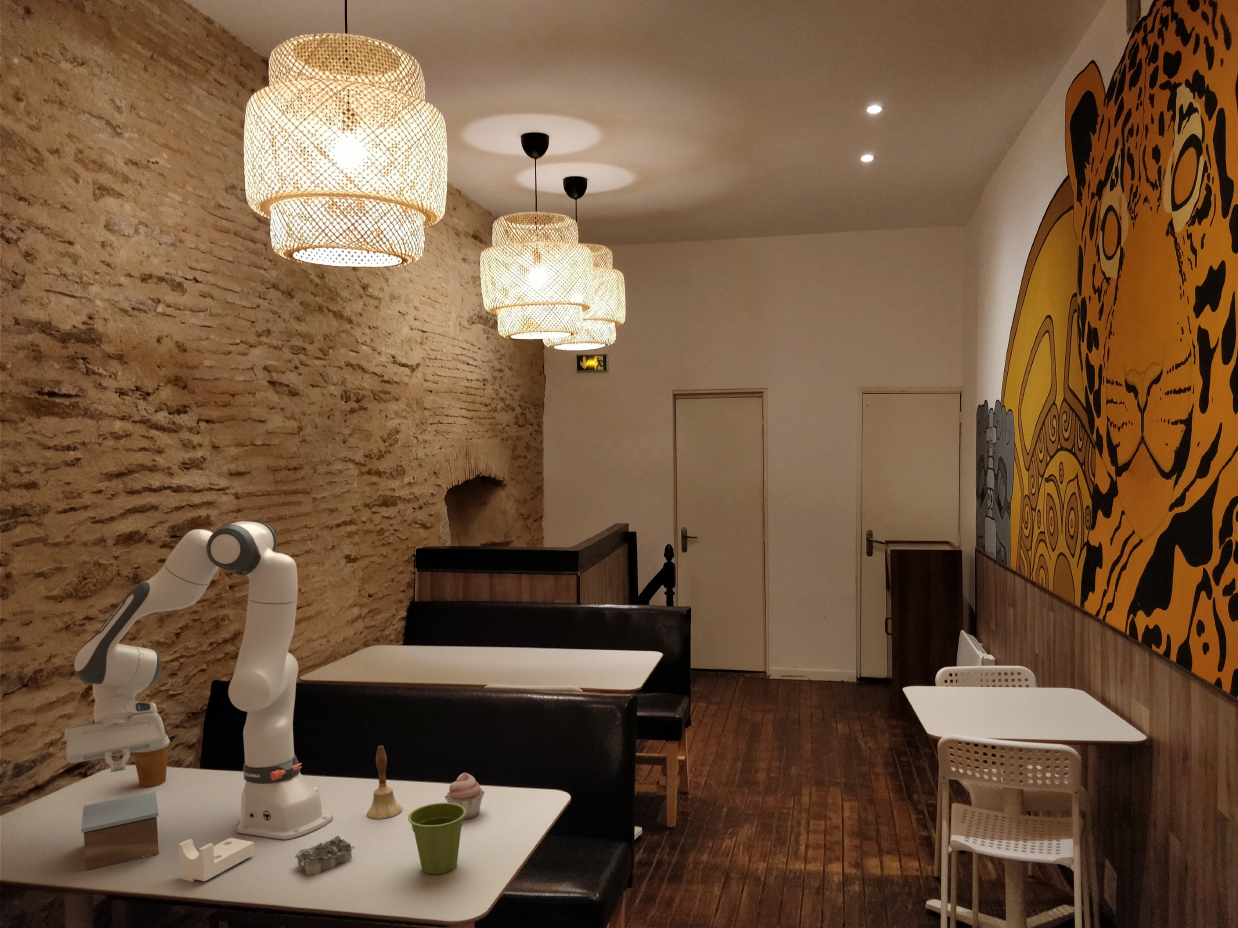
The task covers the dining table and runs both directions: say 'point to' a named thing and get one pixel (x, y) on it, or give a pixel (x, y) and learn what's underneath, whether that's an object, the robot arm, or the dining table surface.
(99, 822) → the lid
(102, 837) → the box
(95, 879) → the dining table surface
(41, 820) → the dining table surface
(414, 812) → the plant pot
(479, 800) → the cupcake
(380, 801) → the hand bell
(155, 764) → the disposable coffee cup
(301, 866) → the egg carton
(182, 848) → the bracket
